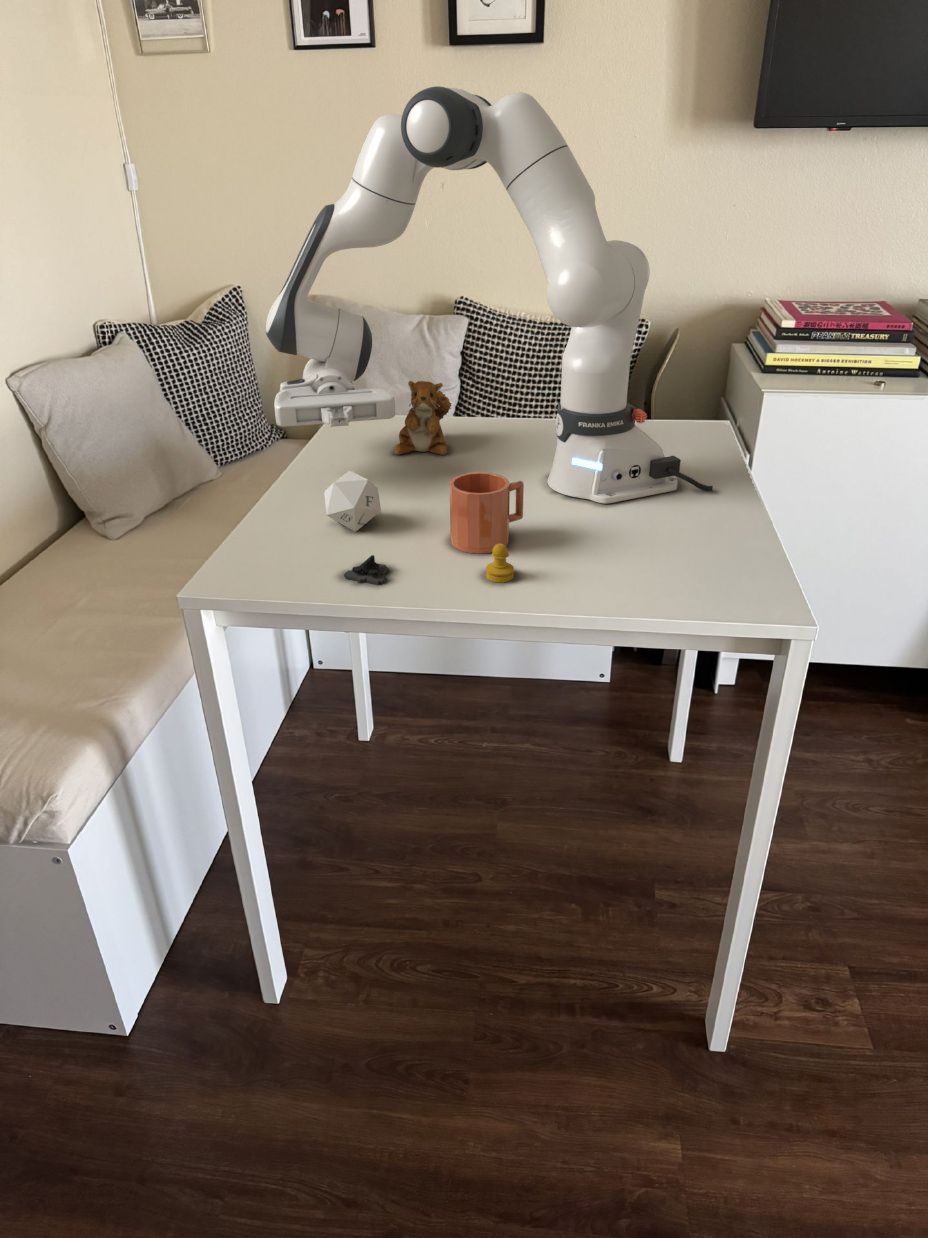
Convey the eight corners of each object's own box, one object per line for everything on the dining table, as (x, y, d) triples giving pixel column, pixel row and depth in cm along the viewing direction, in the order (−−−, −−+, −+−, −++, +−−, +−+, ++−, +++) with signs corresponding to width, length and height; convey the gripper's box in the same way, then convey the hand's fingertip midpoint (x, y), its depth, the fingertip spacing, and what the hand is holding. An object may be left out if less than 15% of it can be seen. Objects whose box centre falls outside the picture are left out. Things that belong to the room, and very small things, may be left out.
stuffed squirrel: (392, 456, 170) (389, 387, 164) (407, 432, 182) (404, 367, 176) (444, 458, 169) (443, 389, 162) (455, 434, 181) (454, 369, 174)
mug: (471, 558, 132) (471, 498, 128) (440, 537, 139) (438, 479, 134) (538, 538, 138) (540, 480, 133) (505, 519, 145) (506, 463, 140)
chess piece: (494, 567, 130) (494, 536, 127) (518, 573, 128) (519, 541, 126) (480, 578, 127) (480, 546, 124) (505, 584, 125) (505, 552, 123)
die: (324, 541, 140) (356, 498, 134) (305, 498, 143) (335, 454, 138) (368, 544, 146) (400, 503, 140) (348, 503, 149) (379, 461, 143)
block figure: (395, 554, 128) (378, 571, 124) (396, 569, 130) (379, 586, 125) (358, 548, 130) (340, 564, 126) (359, 562, 132) (341, 579, 127)
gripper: (390, 410, 161) (403, 435, 149) (275, 419, 157) (278, 445, 146) (389, 375, 158) (401, 397, 146) (271, 383, 154) (274, 406, 142)
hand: (339, 421), depth 146 cm, fingers closed
